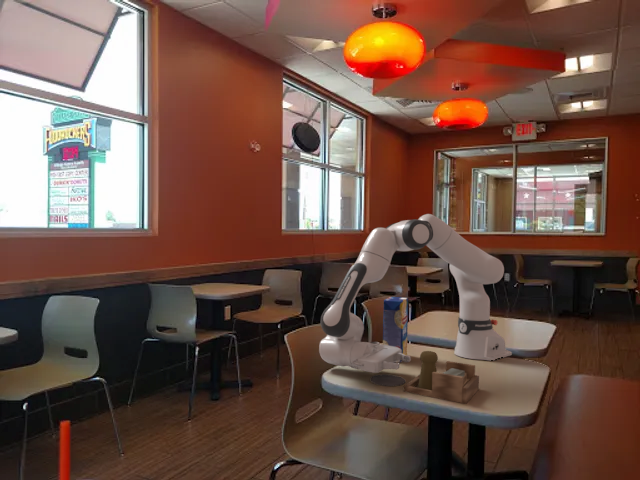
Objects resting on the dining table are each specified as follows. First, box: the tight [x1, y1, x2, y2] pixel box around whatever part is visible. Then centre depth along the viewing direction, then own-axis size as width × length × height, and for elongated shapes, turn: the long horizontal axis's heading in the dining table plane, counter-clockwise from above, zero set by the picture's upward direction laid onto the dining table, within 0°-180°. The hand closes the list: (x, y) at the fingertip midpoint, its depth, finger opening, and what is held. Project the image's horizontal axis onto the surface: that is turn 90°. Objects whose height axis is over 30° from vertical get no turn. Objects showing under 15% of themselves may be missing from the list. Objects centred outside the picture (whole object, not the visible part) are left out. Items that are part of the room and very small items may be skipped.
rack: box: [403, 360, 480, 405], centre depth 145 cm, size 18×15×7 cm
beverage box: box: [382, 296, 409, 363], centre depth 181 cm, size 7×11×22 cm, turn 159°
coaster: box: [370, 373, 406, 387], centre depth 154 cm, size 11×11×1 cm
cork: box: [417, 350, 439, 390], centre depth 147 cm, size 6×6×11 cm
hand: (404, 362), depth 151 cm, fingers open, 8 cm apart
